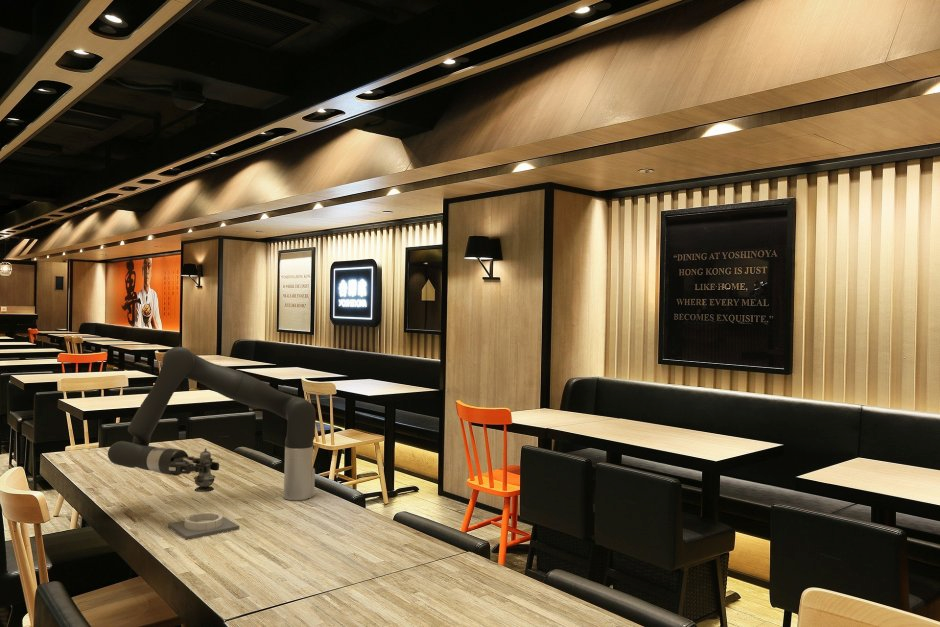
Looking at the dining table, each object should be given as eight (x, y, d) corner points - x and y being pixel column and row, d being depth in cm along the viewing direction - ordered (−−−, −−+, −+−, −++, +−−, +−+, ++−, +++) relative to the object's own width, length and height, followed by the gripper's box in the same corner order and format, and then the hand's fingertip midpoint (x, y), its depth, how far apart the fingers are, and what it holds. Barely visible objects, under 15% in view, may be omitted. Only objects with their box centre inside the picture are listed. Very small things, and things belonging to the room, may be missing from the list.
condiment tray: (219, 517, 206) (219, 507, 206) (239, 529, 196) (239, 518, 196) (168, 527, 196) (168, 516, 196) (186, 540, 186) (186, 529, 185)
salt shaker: (207, 493, 192) (209, 450, 192) (188, 491, 193) (190, 449, 193) (219, 488, 198) (220, 446, 198) (201, 486, 199) (202, 445, 199)
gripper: (148, 452, 195) (194, 459, 188) (186, 444, 208) (230, 450, 201) (147, 478, 195) (193, 486, 188) (185, 468, 208) (230, 475, 201)
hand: (212, 468), depth 195 cm, fingers closed on salt shaker, 3 cm apart
